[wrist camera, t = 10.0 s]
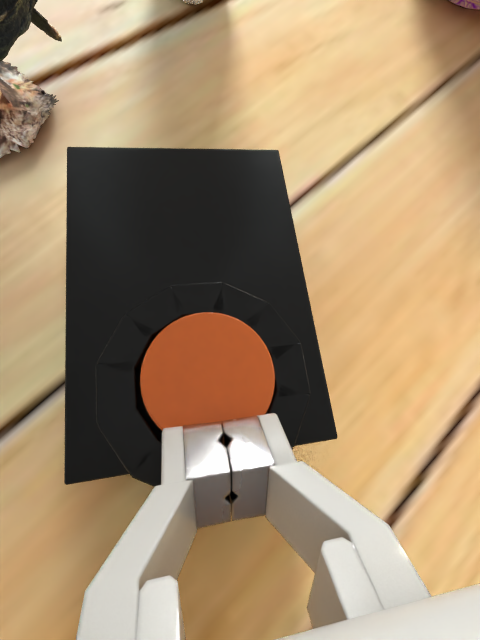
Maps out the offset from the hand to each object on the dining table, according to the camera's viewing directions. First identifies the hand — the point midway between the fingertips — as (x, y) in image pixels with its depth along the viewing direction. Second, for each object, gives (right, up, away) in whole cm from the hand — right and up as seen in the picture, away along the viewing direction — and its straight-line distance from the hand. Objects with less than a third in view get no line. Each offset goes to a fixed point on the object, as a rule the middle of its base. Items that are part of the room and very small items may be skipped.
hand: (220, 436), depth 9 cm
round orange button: (-1, +1, +3) cm, 3 cm away
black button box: (-2, +3, +10) cm, 11 cm away
